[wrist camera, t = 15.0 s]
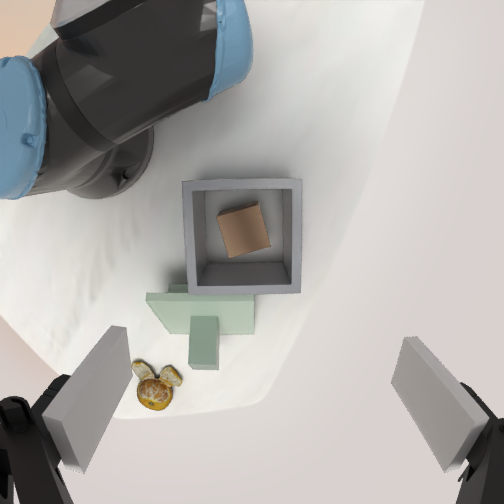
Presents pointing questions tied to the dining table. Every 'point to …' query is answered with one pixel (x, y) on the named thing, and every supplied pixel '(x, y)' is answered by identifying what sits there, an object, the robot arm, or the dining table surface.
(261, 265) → the storage box
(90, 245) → the dining table surface
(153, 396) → the fruit
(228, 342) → the dining table surface
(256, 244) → the block
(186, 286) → the lid
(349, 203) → the dining table surface
